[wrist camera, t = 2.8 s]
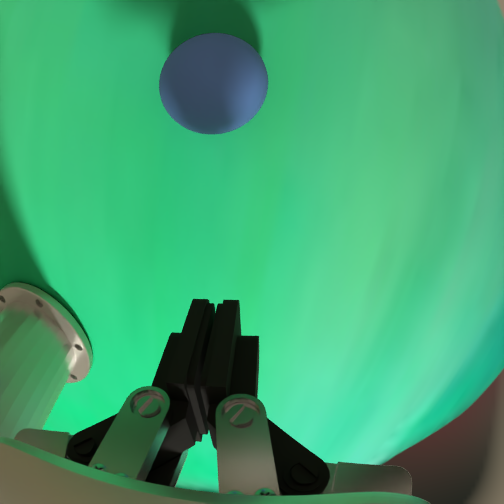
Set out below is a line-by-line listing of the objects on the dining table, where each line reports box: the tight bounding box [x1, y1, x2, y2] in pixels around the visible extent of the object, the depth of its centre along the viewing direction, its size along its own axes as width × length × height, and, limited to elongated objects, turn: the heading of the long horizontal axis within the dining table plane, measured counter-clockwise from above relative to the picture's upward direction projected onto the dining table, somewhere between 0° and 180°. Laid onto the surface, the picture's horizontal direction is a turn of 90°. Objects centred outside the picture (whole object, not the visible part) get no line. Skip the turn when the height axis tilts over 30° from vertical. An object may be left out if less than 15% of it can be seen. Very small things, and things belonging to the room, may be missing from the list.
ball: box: [159, 33, 268, 134], centre depth 14 cm, size 6×6×6 cm
